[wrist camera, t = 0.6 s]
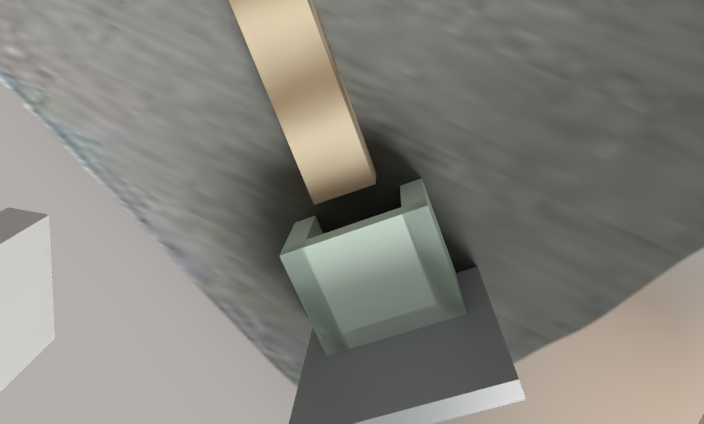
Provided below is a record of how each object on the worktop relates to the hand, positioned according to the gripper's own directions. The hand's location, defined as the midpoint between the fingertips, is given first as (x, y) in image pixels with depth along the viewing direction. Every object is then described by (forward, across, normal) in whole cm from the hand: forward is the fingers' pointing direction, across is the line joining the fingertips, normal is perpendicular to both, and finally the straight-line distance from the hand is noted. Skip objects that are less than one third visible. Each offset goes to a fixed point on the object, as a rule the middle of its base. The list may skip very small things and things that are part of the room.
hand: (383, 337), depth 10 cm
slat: (+24, -5, +1) cm, 25 cm away
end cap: (+24, +1, -9) cm, 25 cm away
